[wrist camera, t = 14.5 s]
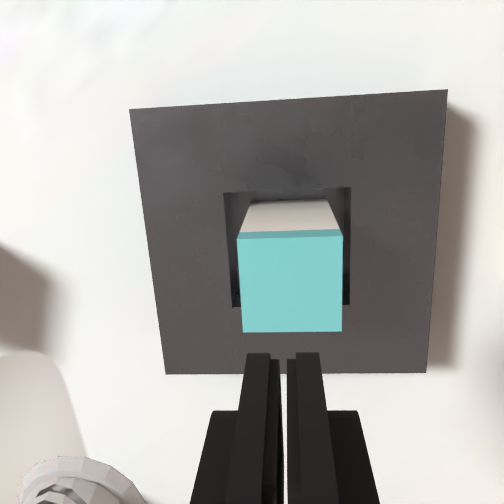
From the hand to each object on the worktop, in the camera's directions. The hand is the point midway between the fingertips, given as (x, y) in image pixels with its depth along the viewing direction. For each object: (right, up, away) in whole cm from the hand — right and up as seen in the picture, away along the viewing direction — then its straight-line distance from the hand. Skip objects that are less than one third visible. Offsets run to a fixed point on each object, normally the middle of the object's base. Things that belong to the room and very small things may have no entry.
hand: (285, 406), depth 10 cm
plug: (+1, +4, +14) cm, 14 cm away
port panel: (+1, +5, +14) cm, 15 cm away
